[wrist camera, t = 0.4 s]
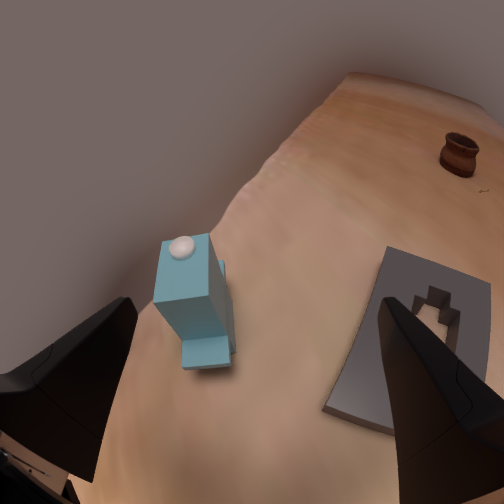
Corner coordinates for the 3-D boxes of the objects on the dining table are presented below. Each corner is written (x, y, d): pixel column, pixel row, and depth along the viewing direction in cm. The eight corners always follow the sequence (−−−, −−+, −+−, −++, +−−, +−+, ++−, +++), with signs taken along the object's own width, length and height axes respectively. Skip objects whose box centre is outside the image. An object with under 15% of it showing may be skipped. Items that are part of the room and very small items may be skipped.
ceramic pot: (504, 194, 35) (514, 165, 30) (446, 194, 37) (456, 159, 32) (461, 151, 48) (466, 125, 43) (404, 147, 50) (408, 118, 45)
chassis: (451, 450, 14) (468, 446, 12) (321, 410, 20) (325, 404, 18) (479, 298, 23) (490, 283, 21) (381, 263, 29) (387, 245, 27)
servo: (238, 376, 23) (206, 324, 15) (196, 380, 23) (145, 330, 16) (230, 282, 31) (207, 208, 23) (196, 287, 31) (163, 217, 23)
